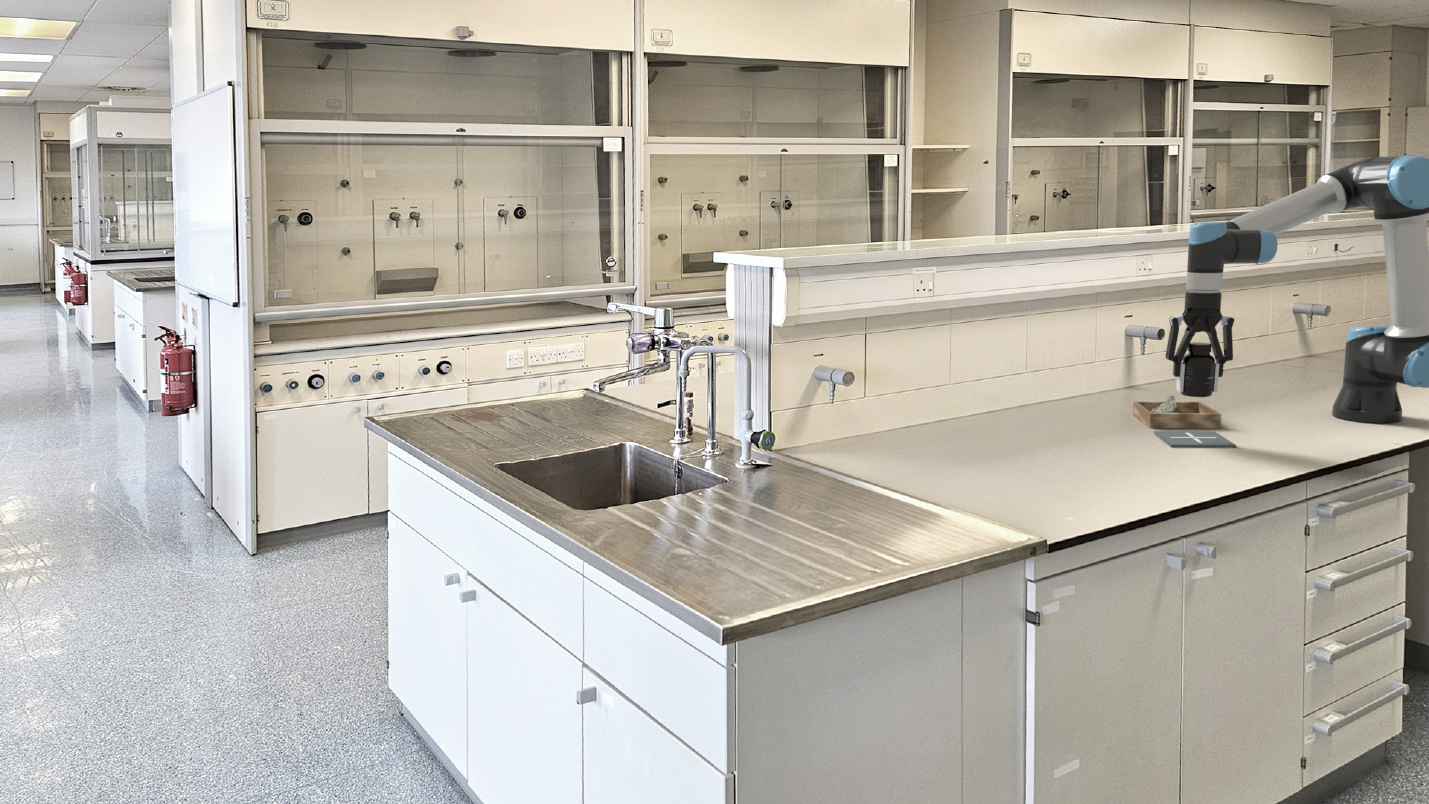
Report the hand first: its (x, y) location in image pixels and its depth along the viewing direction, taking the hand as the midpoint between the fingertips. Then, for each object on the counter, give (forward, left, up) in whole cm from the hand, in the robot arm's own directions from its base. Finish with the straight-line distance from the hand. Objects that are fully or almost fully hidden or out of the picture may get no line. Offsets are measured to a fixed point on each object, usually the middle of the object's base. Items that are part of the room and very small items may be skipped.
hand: (1196, 390), depth 253 cm
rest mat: (0, 0, -12) cm, 12 cm away
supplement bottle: (0, 0, -1) cm, 1 cm away
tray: (-2, -21, -12) cm, 24 cm away
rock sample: (+1, -23, -12) cm, 26 cm away
